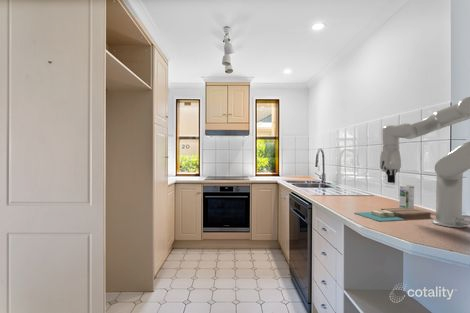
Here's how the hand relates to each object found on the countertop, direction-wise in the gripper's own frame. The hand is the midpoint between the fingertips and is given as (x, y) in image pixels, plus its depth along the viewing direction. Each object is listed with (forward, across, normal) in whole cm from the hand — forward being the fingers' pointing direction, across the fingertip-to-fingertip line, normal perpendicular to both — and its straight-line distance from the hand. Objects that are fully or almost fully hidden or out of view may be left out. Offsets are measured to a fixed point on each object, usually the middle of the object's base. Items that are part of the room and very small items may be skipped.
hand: (391, 182), depth 139 cm
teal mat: (+18, +8, -1) cm, 20 cm away
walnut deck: (+18, -9, 0) cm, 20 cm away
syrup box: (+18, -28, -15) cm, 37 cm away
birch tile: (+18, +5, -1) cm, 18 cm away
